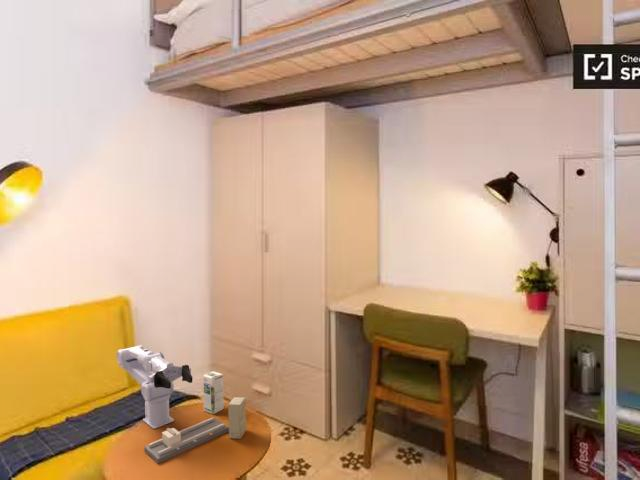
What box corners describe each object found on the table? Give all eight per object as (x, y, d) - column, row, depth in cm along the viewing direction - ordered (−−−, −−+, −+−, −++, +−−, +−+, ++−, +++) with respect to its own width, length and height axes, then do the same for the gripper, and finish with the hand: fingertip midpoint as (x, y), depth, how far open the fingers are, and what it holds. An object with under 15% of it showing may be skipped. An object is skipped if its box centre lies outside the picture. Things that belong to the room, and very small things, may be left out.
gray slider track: (144, 451, 136) (144, 443, 136) (213, 421, 155) (213, 415, 154) (158, 463, 129) (157, 455, 129) (228, 431, 148) (228, 424, 148)
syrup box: (203, 410, 163) (202, 375, 162) (214, 405, 168) (213, 370, 167) (213, 414, 160) (211, 378, 159) (224, 408, 165) (223, 373, 164)
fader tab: (162, 442, 138) (161, 430, 137) (173, 437, 141) (173, 425, 140) (169, 448, 134) (168, 436, 134) (180, 443, 137) (180, 431, 137)
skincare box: (240, 439, 142) (240, 405, 141) (228, 438, 143) (227, 404, 142) (246, 429, 148) (245, 397, 148) (234, 429, 149) (233, 396, 148)
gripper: (143, 363, 144) (159, 376, 134) (183, 354, 154) (201, 366, 144) (143, 382, 144) (159, 397, 134) (182, 373, 154) (200, 386, 144)
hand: (180, 382), depth 139 cm, fingers open, 7 cm apart
